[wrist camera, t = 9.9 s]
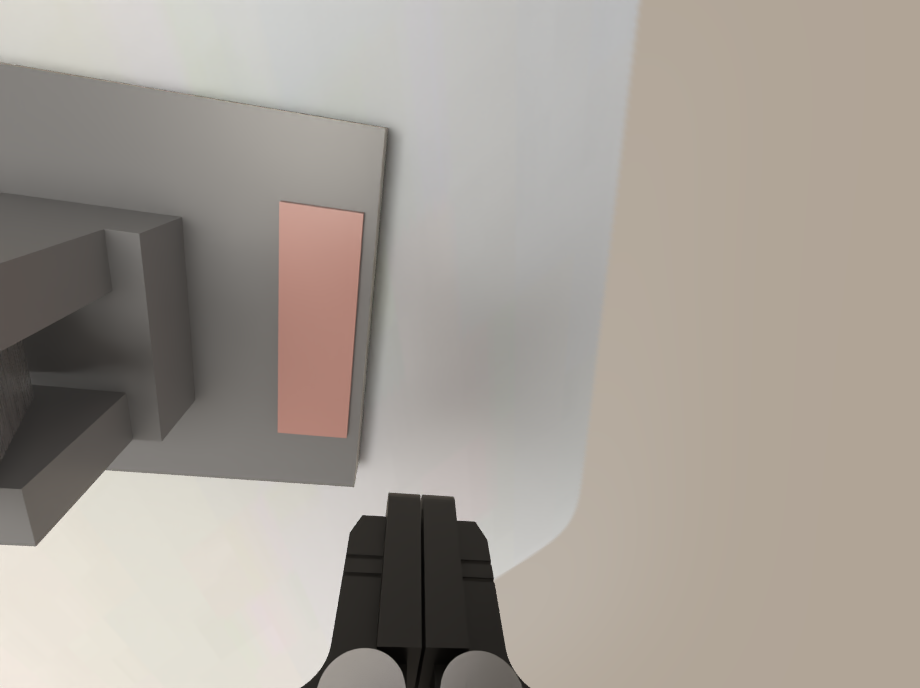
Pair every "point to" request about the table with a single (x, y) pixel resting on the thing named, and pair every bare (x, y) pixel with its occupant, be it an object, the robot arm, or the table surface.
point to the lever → (13, 392)
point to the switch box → (180, 288)
